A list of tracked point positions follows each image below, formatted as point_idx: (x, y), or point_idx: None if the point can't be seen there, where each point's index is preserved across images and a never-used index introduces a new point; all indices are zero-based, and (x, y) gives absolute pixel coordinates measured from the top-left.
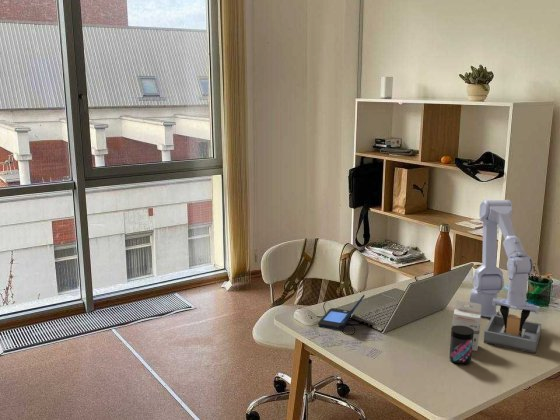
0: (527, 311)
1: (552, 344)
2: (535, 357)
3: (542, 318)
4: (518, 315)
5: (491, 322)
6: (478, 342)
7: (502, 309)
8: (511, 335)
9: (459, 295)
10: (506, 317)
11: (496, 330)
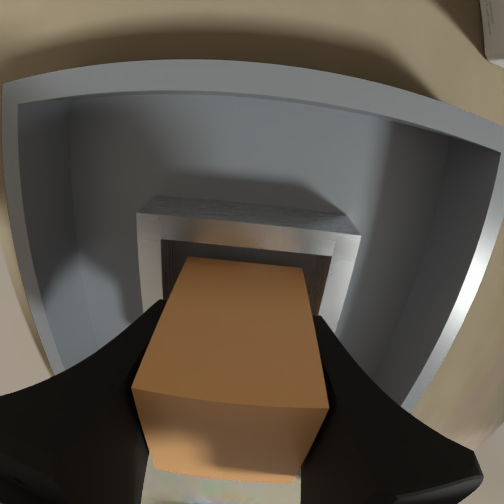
0: (16, 497)
1: (21, 280)
2: (67, 22)
3: (148, 478)
4: (188, 471)
5: (427, 361)
6: (499, 52)
7: (442, 501)
8: (249, 220)
9: None
10: (344, 404)
11: (360, 337)
